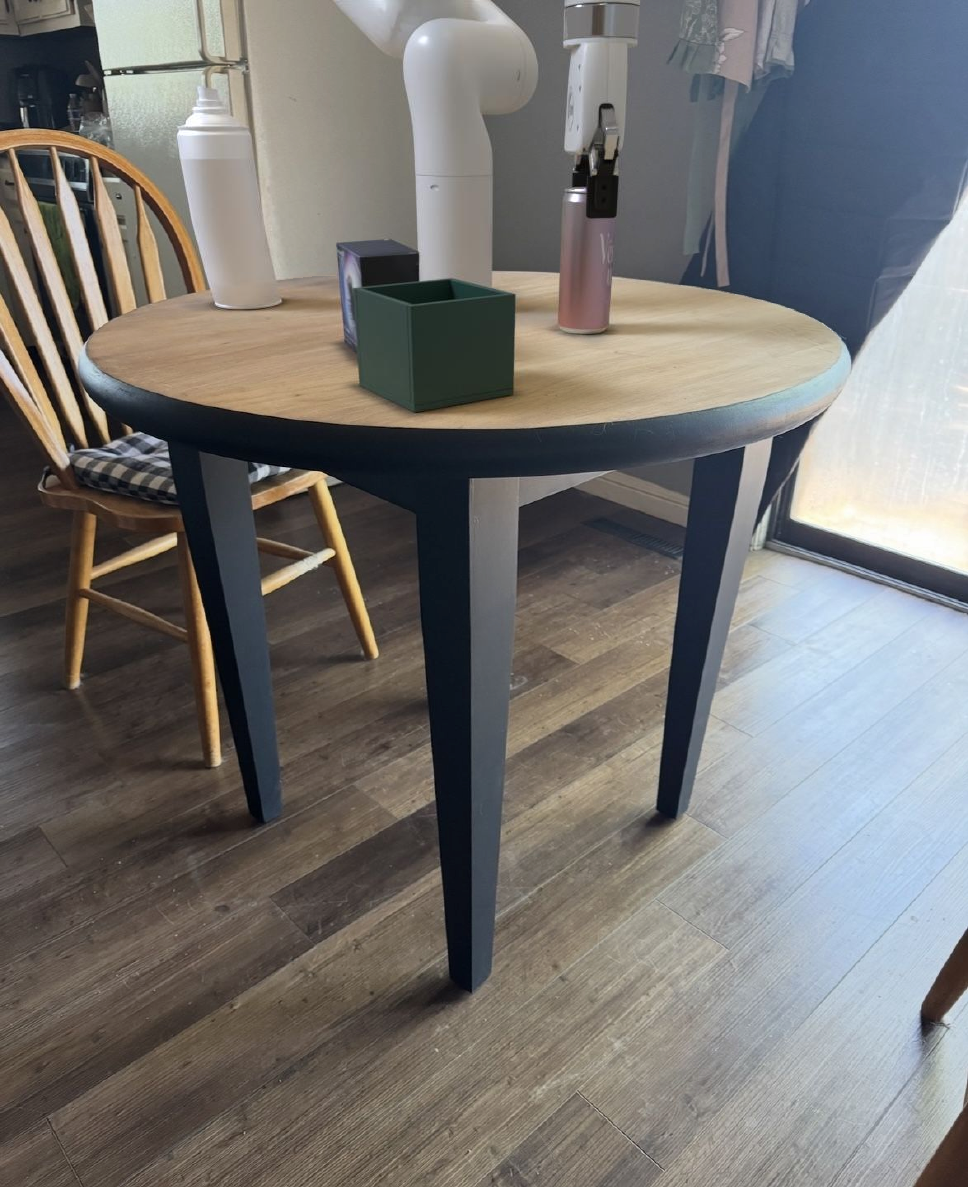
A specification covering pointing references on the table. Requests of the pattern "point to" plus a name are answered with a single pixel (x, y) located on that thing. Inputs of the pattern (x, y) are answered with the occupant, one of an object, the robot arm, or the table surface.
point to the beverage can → (584, 267)
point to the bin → (435, 342)
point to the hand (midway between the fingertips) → (592, 214)
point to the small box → (371, 273)
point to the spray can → (226, 206)
